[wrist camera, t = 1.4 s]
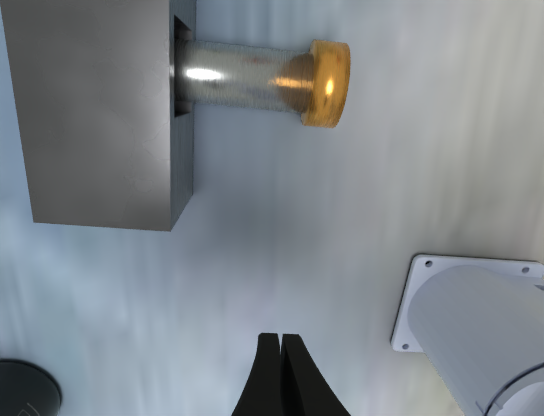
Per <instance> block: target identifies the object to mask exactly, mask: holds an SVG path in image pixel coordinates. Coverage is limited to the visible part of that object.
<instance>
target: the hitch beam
mask: <svg viewBox="0 0 544 416" xmlns="http://www.w3.org/2000/svg"><path fill="white" fill-rule="evenodd" d="M0 6H1V13H2V19H3V26H4V32H5V39H6V45H7V52H8V58H9V65H10V71H11V78H12V84H13V91H14V97H15V104H16V110H17V117H18V123H19V130H20V137H21V143H22V150H23V156H24V163H25V169H26V176H27V182H28V189H29V195H30V202H31V208H32V215H33V221H34V222H35V223H50V224H65V225H80V226H95V227H110V228H125V229H140V230H155V231H170V232H171V230H172V228H173V226H174V225H175V223H176V221H177V220H178V218H179V216H180V215H181V213H182V211H183V210H184V208H185V206H186V205H187V203H188V201H189V200H190V198H191V196H192V195H193V150H194V103H192V102H181V101H174V38H177V39H186V40H195V31H196V0H0Z"/></svg>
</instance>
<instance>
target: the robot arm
mask: <svg viewBox="0 0 544 416" xmlns="http://www.w3.org/2000/svg"><path fill="white" fill-rule="evenodd" d="M427 261H430V262H429V263H428V264H426V265H425V263H426V262H427ZM524 267H525V268H524ZM523 268H524V269H523ZM522 269H523V270H522ZM543 275H544V265H543V264H541V263H539V262H528V261H512V260H497V259H482V258H466V257H451V256H436V255H417V256H416V257H414V259H413V261H412V265H411V269H410V272H409V276H408V280H407V284H406V287H405V291H404V295H403V299H402V303H401V306H400V310H399V314H398V318H397V322H396V325H395V329H394V333H393V337H392V341H391V346H392V348H393V350H395V351H403V352H425V354H426V355H427V357H428V358H429V360H430V362H431V363H432V365H433V366H434V368H435V369H436V371H437V372H438V374H439V376H440V377H441V379H442V380H443V382H444V383H445V385H446V386H447V388H448V389H449V391H450V393H451V394H452V396H453V397H454V399H455V400H456V402H457V403H458V405H459V407H460V408H461V410H462V411H463V413H464V414H465V416H544V280H543V279H542V277H543ZM404 344H406V345H404ZM403 345H404V346H403ZM231 416H351V415H350V414H349V413H348V411H347V410H346V409H345V408H344V406H343V405H342V404H341V402H340V401H339V400H338V398H337V397H336V395H335V394H334V393H333V391H332V390H331V388H330V387H329V385H328V384H327V382H326V381H325V379H324V378H323V376H322V374H321V373H320V371H319V370H318V368H317V366H316V365H315V363H314V361H313V359H312V358H311V356H310V354H309V352H308V350H307V348H306V346H305V345H304V342H303V340H302V338H301V337H300V335H299V334H283V337H282V345H281V353H280V344H279V339H278V334H277V333H261V334H259V335H258V345H257V352H256V356H255V360H254V363H253V366H252V369H251V372H250V375H249V378H248V380H247V383H246V385H245V387H244V390H243V392H242V395H241V397H240V399H239V401H238V403H237V405H236V407H235V409H234V411H233V413H232V415H231Z"/></svg>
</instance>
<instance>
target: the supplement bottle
mask: <svg viewBox="0 0 544 416" xmlns="http://www.w3.org/2000/svg"><path fill="white" fill-rule="evenodd" d="M59 407H60V396H59V392H58V390H57V388H56V386H55V384H54V383H53V382H52V381H51V380H50V379H49V378H48V377H47V376H46V375H45V374H43V373H42V372H41V371H39V370H37V369H35V368H33V367H30V366H28V365H25V364H21V363H15V362H0V416H57V414H58V411H59Z"/></svg>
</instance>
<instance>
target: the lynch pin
mask: <svg viewBox="0 0 544 416" xmlns="http://www.w3.org/2000/svg"><path fill="white" fill-rule="evenodd" d="M349 77H350V50H349V46H348V44H347V43H341V42H332V41H323V40H313V41H312V43H311V46H310V49H309V53H304V52H295V51H286V50H276V49H267V48H258V47H249V46H240V45H231V44H222V43H213V42H204V41H195V40H186V39H177V38H174V101H181V102H192V103H202V104H212V105H223V106H233V107H244V108H254V109H264V110H275V111H285V112H296V113H301V121H302V125H304V126H314V127H325V128H334V127H335V126H336V125H337V123H338V122H339V119H340V117H341V114H342V111H343V108H344V105H345V101H346V96H347V91H348V85H349Z"/></svg>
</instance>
